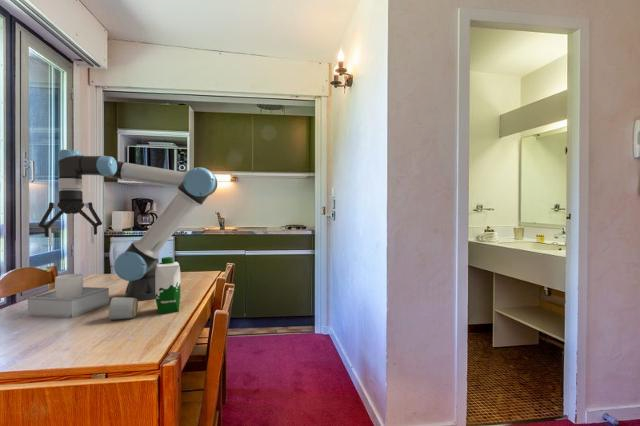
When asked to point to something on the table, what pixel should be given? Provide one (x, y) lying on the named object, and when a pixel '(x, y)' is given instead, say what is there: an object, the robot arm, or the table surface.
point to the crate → (67, 303)
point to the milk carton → (167, 285)
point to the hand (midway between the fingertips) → (72, 244)
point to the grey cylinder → (123, 308)
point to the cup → (69, 286)
